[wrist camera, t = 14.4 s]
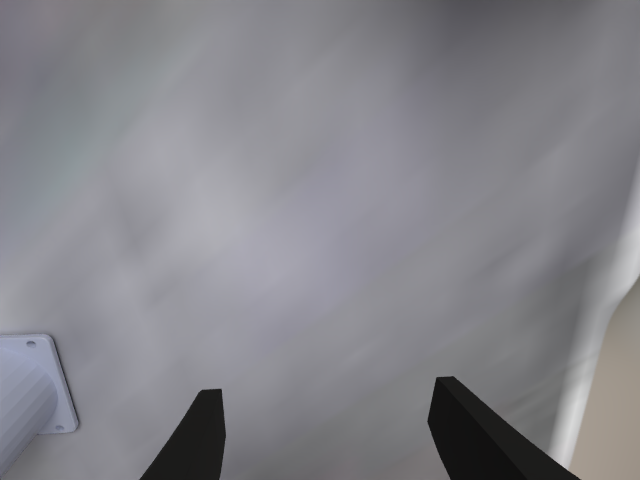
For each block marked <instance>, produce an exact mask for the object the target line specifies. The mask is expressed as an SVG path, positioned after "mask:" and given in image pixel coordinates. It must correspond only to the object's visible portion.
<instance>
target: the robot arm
mask: <svg viewBox="0 0 640 480" xmlns="http://www.w3.org/2000/svg"><path fill="white" fill-rule="evenodd" d="M32 341H33V342H35V343H36V344H35V343H33V342H32ZM427 422H428V425H429V428H430V431H431V434H432V437H433V439H434V442H435V445H436V448H437V450H438V453H439V455H440V458H441V460H442V462H443V464H444V466H445V468H446V470H447V473H448V475H449V477H450V479H451V480H580V479H579V478H578V477H576V476H575V475H574V474H572V473H571V472H569V471H568V470H567V469H565V468H564V467H562V466H561V465H560V464H558V463H557V462H556V461H554V460H553V459H552V458H551V457H549V456H548V455H547V454H545V453H544V452H543V451H542V450H540V449H539V448H538V447H536V446H535V445H534V444H533V443H531V442H530V441H529V440H528V439H526V438H525V437H524V436H523V435H521V434H520V433H519V432H518V431H516V430H515V429H514V428H513V427H512V426H510V425H509V424H508V423H507V422H506V421H505V420H503V419H502V418H501V417H500V416H499V415H497V414H496V413H495V412H494V411H493V410H492V409H491V408H489V407H488V406H487V405H486V404H485V403H484V402H482V401H481V400H480V399H479V398H478V397H477V396H476V395H474V394H473V393H472V392H471V391H470V390H469V389H468V388H466V387H465V386H464V385H463V384H462V383H461V382H459V381H458V380H457V379H456V378H455V377H453V376H451V377H436V382H435V387H434V392H433V397H432V402H431V406H430V411H429V416H428V421H427ZM78 425H79V424H78V420H77V416H76V413H75V410H74V407H73V403H72V400H71V397H70V394H69V390H68V387H67V384H66V381H65V378H64V374H63V371H62V368H61V365H60V361H59V358H58V355H57V352H56V348H55V345H54V342H53V339H52V338H51V337H50V336H48V335H46V334H28V335H0V479H1V478H2V477H3V476H4V474H5V473H6V472H7V471H8V469H9V468H10V467H11V466H12V464H13V463H14V462H15V461H16V459H17V458H18V457H19V455H20V454H21V453H22V452H23V450H24V449H25V448H26V447H27V445H28V444H29V443H30V442H31V440H32V439H33V438H34V437H35V435H39V434H54V433H69V432H73V431H75V429H76V428H77V426H78ZM225 438H226V432H225V421H224V410H223V399H222V389H210V390H201V391H200V392H199V393H198V395H197V396H196V398H195V400H194V401H193V403H192V405H191V406H190V408H189V410H188V411H187V413H186V414H185V416H184V417H183V419H182V421H181V422H180V424H179V425H178V427H177V428H176V430H175V431H174V433H173V434H172V435H171V437H170V438H169V440H168V441H167V443H166V444H165V445H164V447H163V448H162V450H161V451H160V453H159V454H158V455H157V457H156V458H155V460H154V461H153V462H152V464H151V465H150V466H149V468H148V469H147V470H146V472H145V473H144V474H143V476H142V477H141V478H140V479H139V480H219V478H220V474H221V467H222V460H223V453H224V446H225Z"/></svg>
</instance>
